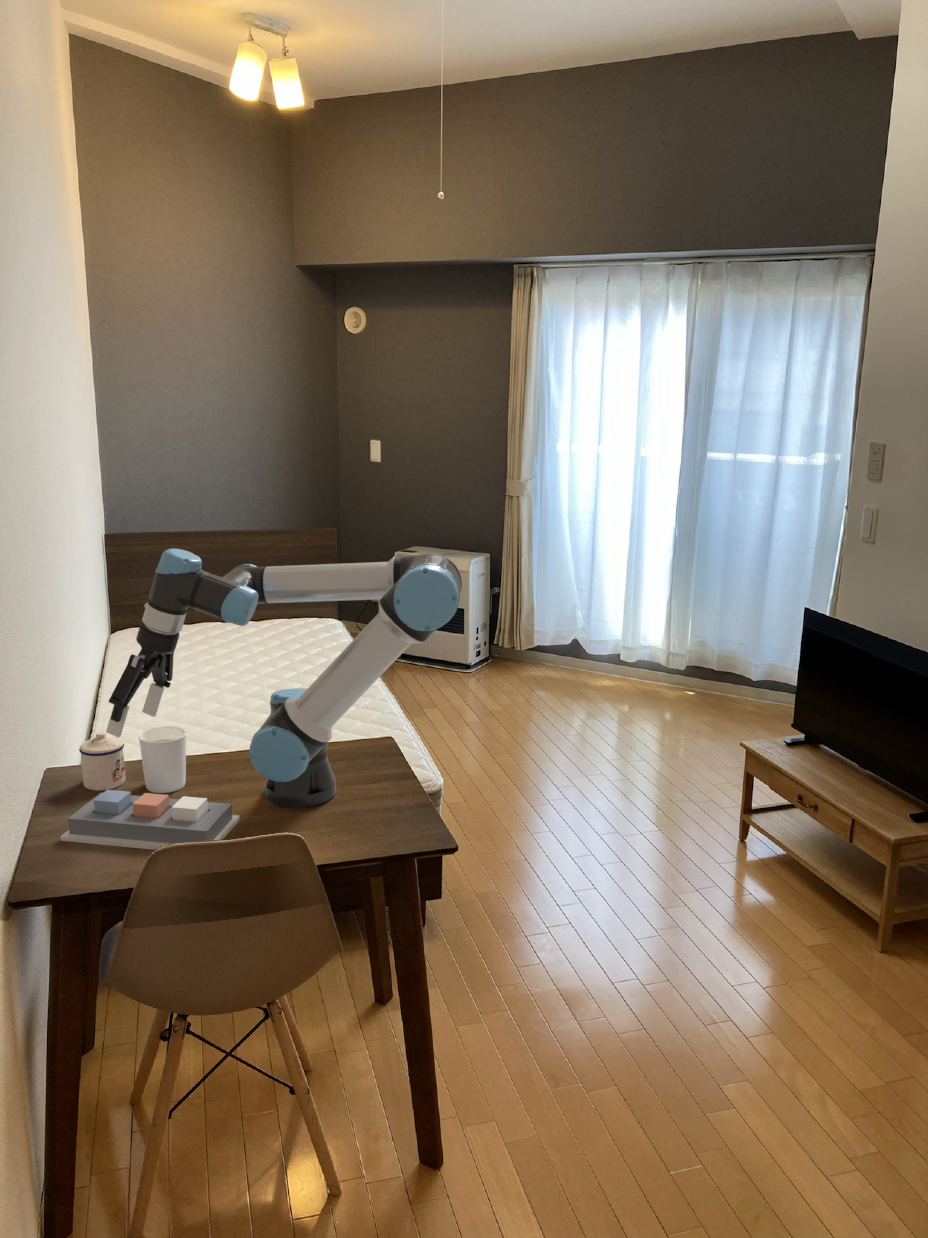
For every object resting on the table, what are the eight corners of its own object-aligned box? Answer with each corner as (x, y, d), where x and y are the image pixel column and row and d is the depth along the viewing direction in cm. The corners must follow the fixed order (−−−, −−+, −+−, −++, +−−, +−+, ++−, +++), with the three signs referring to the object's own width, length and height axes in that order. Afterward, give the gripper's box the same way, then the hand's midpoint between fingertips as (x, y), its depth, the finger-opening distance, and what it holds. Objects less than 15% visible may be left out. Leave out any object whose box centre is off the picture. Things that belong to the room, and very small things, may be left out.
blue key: (131, 805, 185) (130, 791, 184) (119, 816, 180) (118, 802, 179) (108, 803, 186) (107, 789, 185) (95, 814, 181) (93, 800, 180)
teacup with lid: (122, 790, 200) (118, 740, 197) (78, 793, 198) (73, 741, 195) (132, 768, 211) (128, 720, 208) (90, 770, 210) (86, 722, 207)
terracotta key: (169, 809, 184) (168, 795, 183) (157, 820, 179) (156, 805, 178) (145, 806, 185) (144, 793, 184) (133, 818, 180) (132, 803, 179)
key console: (240, 819, 188) (239, 801, 187) (209, 855, 173) (208, 835, 172) (101, 807, 192) (100, 789, 191) (60, 840, 178) (58, 821, 177)
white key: (207, 812, 183) (207, 798, 182) (197, 823, 178) (196, 809, 177) (183, 810, 183) (183, 796, 183) (172, 821, 179) (171, 807, 178)
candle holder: (196, 778, 207) (194, 727, 204) (176, 797, 197) (173, 744, 194) (155, 774, 208) (152, 724, 205) (133, 793, 199) (129, 740, 196)
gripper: (174, 608, 191) (146, 699, 196) (108, 632, 167) (78, 735, 172) (206, 622, 191) (178, 713, 196) (145, 648, 166) (114, 751, 171)
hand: (131, 723), depth 184 cm, fingers open, 13 cm apart
